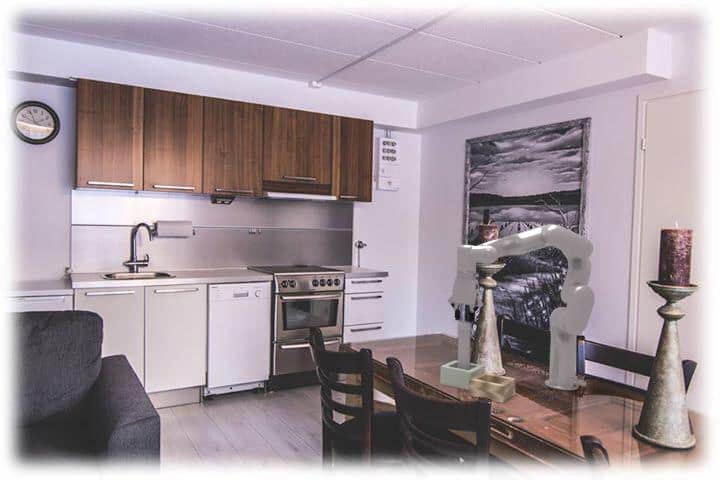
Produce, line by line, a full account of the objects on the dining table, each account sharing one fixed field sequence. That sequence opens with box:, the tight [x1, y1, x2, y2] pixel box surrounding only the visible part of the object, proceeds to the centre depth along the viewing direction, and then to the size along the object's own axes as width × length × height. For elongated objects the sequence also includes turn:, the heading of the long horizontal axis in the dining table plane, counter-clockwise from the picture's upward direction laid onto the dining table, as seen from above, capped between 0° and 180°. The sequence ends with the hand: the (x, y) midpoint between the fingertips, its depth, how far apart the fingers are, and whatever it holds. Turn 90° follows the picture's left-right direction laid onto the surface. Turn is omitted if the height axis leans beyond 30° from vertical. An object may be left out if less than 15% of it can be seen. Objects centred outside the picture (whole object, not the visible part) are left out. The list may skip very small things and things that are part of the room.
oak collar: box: [468, 371, 517, 404], centre depth 199 cm, size 13×13×6 cm
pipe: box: [457, 308, 473, 370], centre depth 212 cm, size 6×6×30 cm
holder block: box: [439, 359, 486, 391], centre depth 212 cm, size 13×13×7 cm
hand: (464, 320), depth 212 cm, fingers open, 5 cm apart
